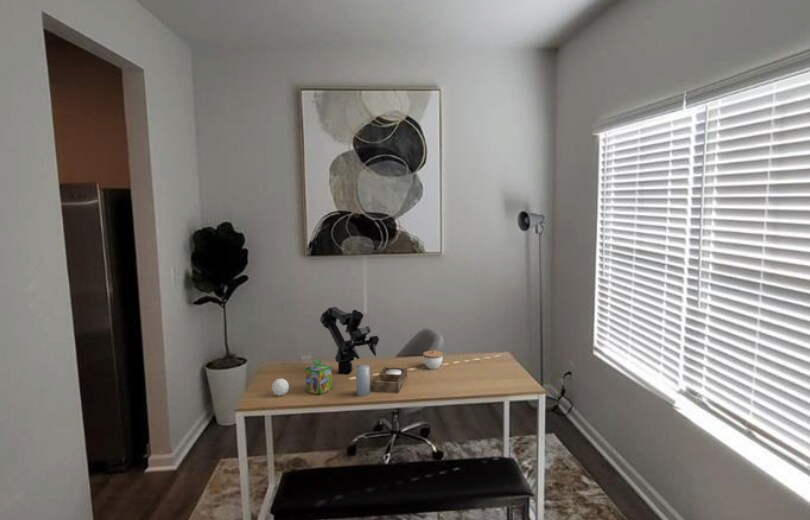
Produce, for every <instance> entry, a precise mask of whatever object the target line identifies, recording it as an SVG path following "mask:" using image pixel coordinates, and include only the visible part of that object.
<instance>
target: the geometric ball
mask: <svg viewBox="0 0 810 520" xmlns="http://www.w3.org/2000/svg"><path fill="white" fill-rule="evenodd" d="M289 389H290V386H289V382H288V381H287V380H286V379H284V378H277V379H275V380H274V381H273V383H272V385H271V391H272V393H273V394H274V395H275V396H278V397H281V396H284V395H286V394H287V393H288V391H289Z"/></svg>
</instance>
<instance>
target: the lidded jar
mask: <svg viewBox="0 0 810 520" xmlns="http://www.w3.org/2000/svg"><path fill="white" fill-rule="evenodd" d="M422 356H423V357H422V358H423V360H422V361H423V363H424V365H425V366H426V367H427V369H429V370H437V369H439V368H438V367H440V366H441V365H442V363H443V358H444V357H443V352H442V351H438V350H434V349H433V350H426V351H424V352H423V354H422Z"/></svg>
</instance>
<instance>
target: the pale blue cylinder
mask: <svg viewBox="0 0 810 520" xmlns="http://www.w3.org/2000/svg"><path fill="white" fill-rule="evenodd" d="M370 379H371V373H370V365H367V364H358V365H356V366H355V389H356V391H355V394H356V396H358V397H360V398H361V396H362V397H364V396H365V397H368V396H370V395H371V380H370Z"/></svg>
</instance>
